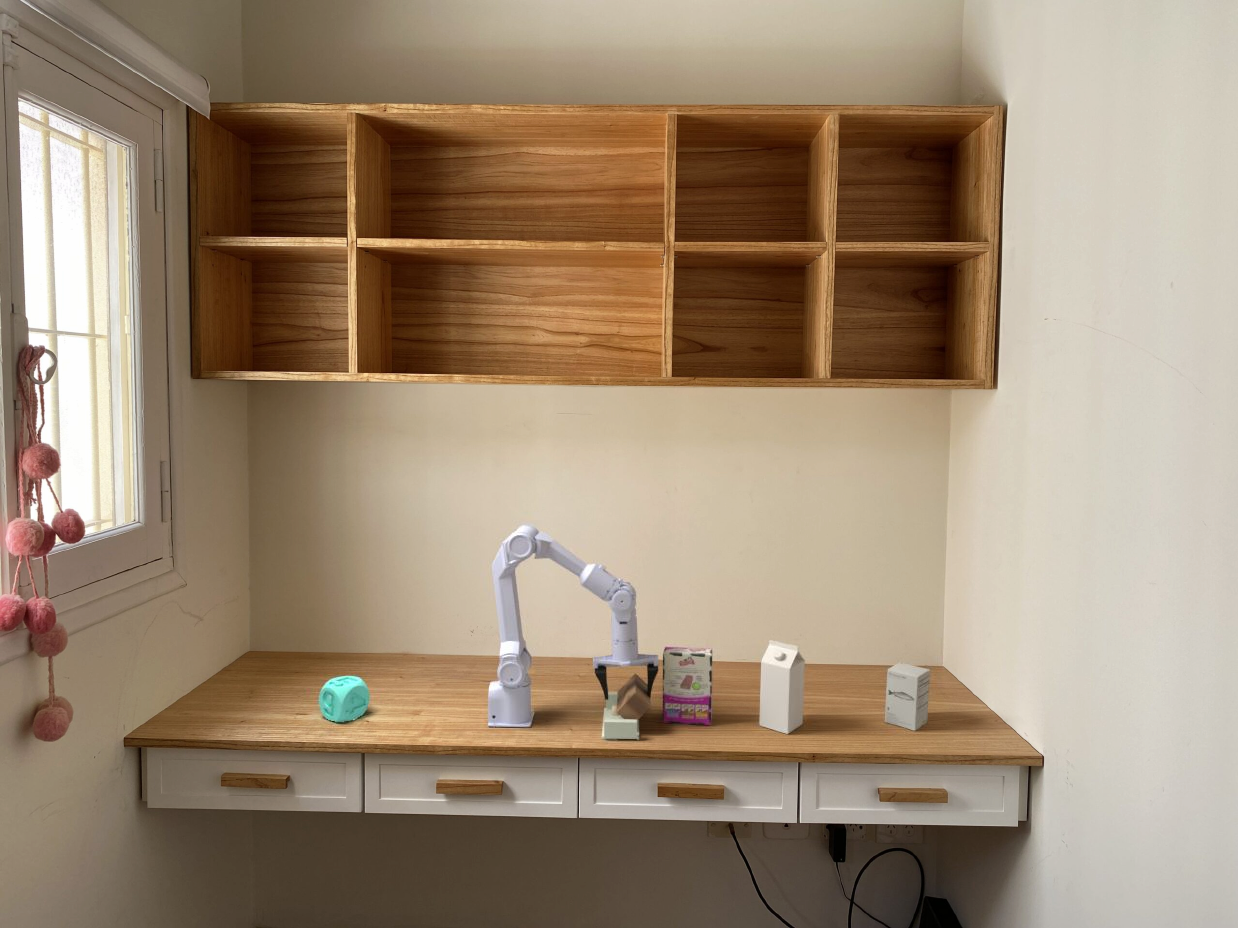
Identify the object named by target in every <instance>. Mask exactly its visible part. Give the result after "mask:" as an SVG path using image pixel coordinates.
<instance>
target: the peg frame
mask: <svg viewBox="0 0 1238 928" xmlns="http://www.w3.org/2000/svg"><path fill="white" fill-rule="evenodd" d="M617 695H618V691H617V692H616V691H613V692H612V691H608V700H605V703H606V704H605V705H606V706H604V708H603V718H602V728H601V729H602V732H601V740H617V739H637V740H636V741H639V740H640V720H639V719H640V718H639V719H638V720H635V719H624V718H622V717H621V716H620V715H619V714H618V713H617Z"/></svg>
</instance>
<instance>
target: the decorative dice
mask: <svg viewBox="0 0 1238 928" xmlns="http://www.w3.org/2000/svg"><path fill="white" fill-rule="evenodd" d="M370 695H371V694H370V690H369V687H368V685H367V684H366V682H365V681H364V680H363V679H362V678H361V677H359V676H354V675H345V676H338V677H334V678H331V679H329V680H328V681H326V682H325V683H324V685H323V686H322V688H321V689H320V692H319V695H318V705H319V710H320V712H321V713H322V716H323V717H324V718H325V719H326V720H327V719H328V721H329V720H331V721H335V722H334V723H337V722H342V723H344V722H343V721H349V722H351V721H350V720H353V719H356V718H358V717H360V716H361V717H362V716H363V715H364V714H365V712H366V711H367V709H368V707H369V705H370V700H371V699H370ZM361 717H360V718H361ZM358 719H359V718H358ZM356 720H357V719H356ZM331 721H330V722H331ZM353 721H354V720H353Z"/></svg>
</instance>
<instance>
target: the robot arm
mask: <svg viewBox="0 0 1238 928" xmlns="http://www.w3.org/2000/svg"><path fill="white" fill-rule="evenodd" d="M534 554H535V555H534ZM532 555H534V559H535V560H538V559H540V560H541V559H549V560H551V561H553V562H554V563H556V564H557V565H559V566H561V567H562V568H564V569H566V570H567V571H568V572H571V573H572V574H573V575H575V576H577V577H578V578H579V581H580V585H581V587H583V588H585V589H586V590H588V591H589V592H590V593H592V594H594V595H595V596H597V598H599V599H600V600H602V601H604V602H608V607H609V608H610V609H611V619H610V623H611V625H610V627H611V647H612V649H611V650H612V654H609V655H602V656H594V657H593V658H592V667H593V669H594V674H595V677H596V678H597V681H598V682H599V684H600V686H601V689H602V692H603V697H604V701H606V700H608V692H609V686H608V680H607V678H608V677H607V675H608V673H607V668H608V667H609V668H610V667H611V668H612V667H613V668H614V667H637V666H638V667H639V666H640V667H641V666H646V669H647V671H646V674H647V676H646V677H647V682H646V684H647V696H649V697H650V699H652V698H651V697H652V689H653V686H654V682H655V679H656V677H657V674H658V672H659V654H645V653H639V642H638V641H639V640H638V617H637V616H636V615H637V608H636V605H637V601H636V600H637V591H636V589H635V587H634V586H633V585H632V584H631V583H630V582H628V581H624V579H623V578H621V577H619V578H618V577H616V576H615V575H613V574H611V573H610V572H609V571H607V570H606V566H605V565H603V564H600V565H598V564H597V563H591V564H588V563H586V562H584V561H583V560H582V559H580V558H579V557H577V556H576V555H575V554H574V553H573V552H571V551H570V550H569V549H567V548H566V547H565V546H563V545H561V544H560V542H558V541H557V540H555V539H554V538H552V537H551V536H550V535H549V534H548V533H546V532H544V531H542V530H538V528H537V527H535V526H534V525H532V524H531V525H530V524H523V525H520V526H519V527H518V528H517V529H515V530H514V531H513V532H512V533H511V534H510V535H509V536H508V537H507V538H506V539H505V540H504V541H503V542H502V543H501V546H500V548H499V550H498V552H497V554H496V556H495V558H494V560H493V561H492V564H491V570H492V579H493V589H494V597H495V603H496V613H497V622H498V631H499V636H500V637H499V639H500V648H499V664H498V667H497V671H496V675H497V678H498V680H494V681H493V680H492V681H490V683H489V686H488V694H487V695H488V698H487V701H488V702H487V705H488V706H487V714H488V715H487V717H488V718H487V721H488V723H487V726H488V727H495V726H496V728H497V727H503V728H505V727H507V728H510V727H511V728H530V727H532V722H533V719H534V716H535V711H532V679H531V677H530V675H529V673H528V671H529V670H530V669H531V667H532V663H533V658H532V655H531V653H530V652H529V651H528V650H529V649H528V648H527V642H526V640H525V638H524V636H523V628H522V627H523V626H522V619H521V611H520V609H521V608H520V602H519V601H520V600H519V593H518V586H517V585H518V584H517V575H516V569H517V567H518V566H520V564H521V563H522V562H524V561H526V560H527V559H529V558H530V557H532Z"/></svg>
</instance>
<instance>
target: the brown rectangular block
mask: <svg viewBox="0 0 1238 928" xmlns="http://www.w3.org/2000/svg"><path fill="white" fill-rule="evenodd" d="M617 692H618V695H617V713H618V714H619V715H620V716H621V717H622V718H624V719H635V720H638V719H641V718H642V717H643V715H644V714H645V713H647V711H648V710H649V709H650V708H651V707H652V705H651V698H650V697H649V696H647V682H645V681H644V680H643V679H642V677H640V676H639V675H637V673H634V674H633V675H632V676H631V677H630V678H629V679H628V681H626V683H624V684H623V686H621V687H620V688H619V690H618V691H617Z"/></svg>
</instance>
